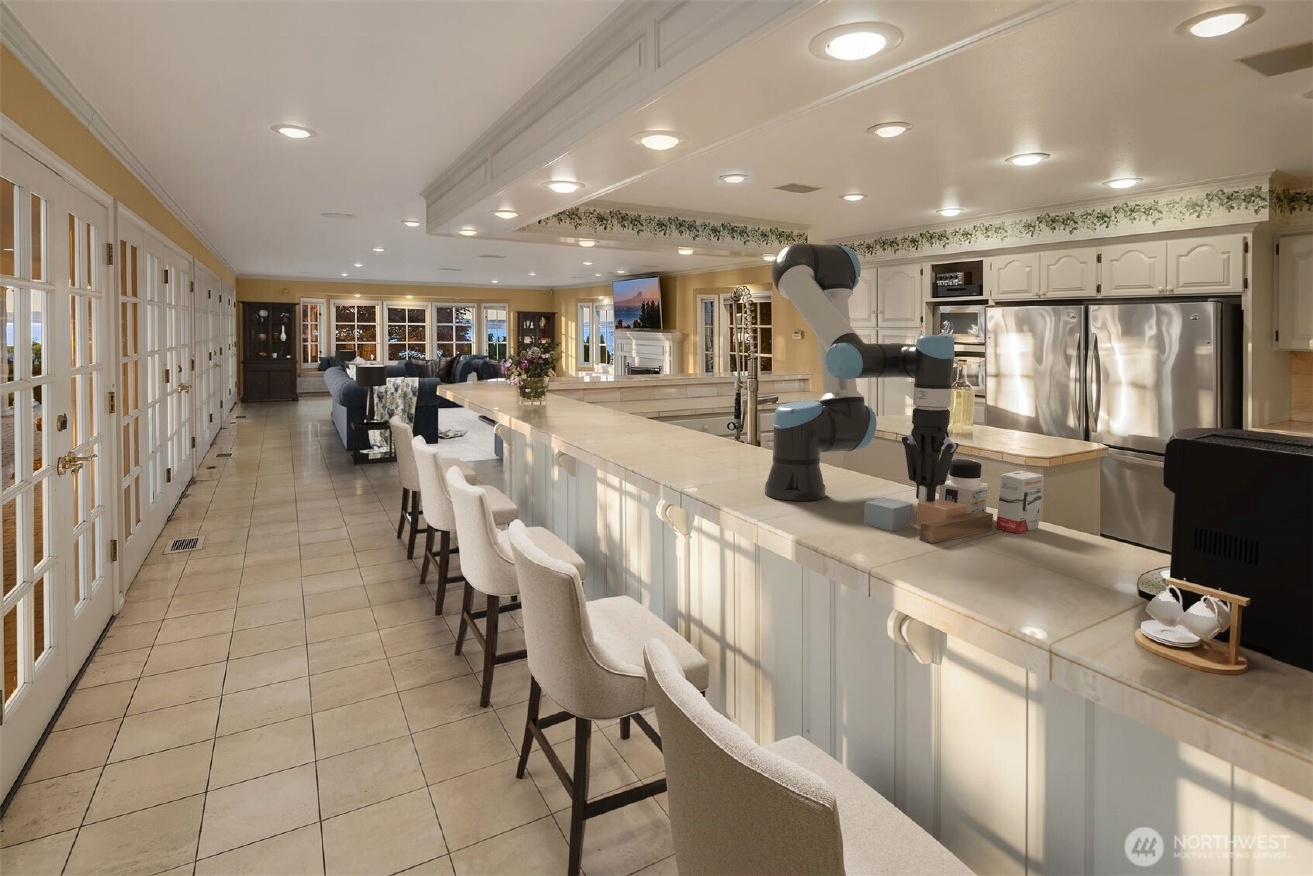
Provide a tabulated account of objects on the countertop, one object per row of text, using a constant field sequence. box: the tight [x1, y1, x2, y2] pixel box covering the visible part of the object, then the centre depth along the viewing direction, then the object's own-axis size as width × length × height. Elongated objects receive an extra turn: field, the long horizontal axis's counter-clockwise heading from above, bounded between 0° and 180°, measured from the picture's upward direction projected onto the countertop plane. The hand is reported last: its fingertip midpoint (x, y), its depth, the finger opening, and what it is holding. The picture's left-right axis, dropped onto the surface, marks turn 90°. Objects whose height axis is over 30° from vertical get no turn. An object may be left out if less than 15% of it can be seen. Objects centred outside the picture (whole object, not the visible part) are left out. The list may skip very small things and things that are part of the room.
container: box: [938, 458, 989, 513], centre depth 158 cm, size 8×8×13 cm
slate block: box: [863, 497, 913, 532], centre depth 152 cm, size 7×7×5 cm
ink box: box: [995, 470, 1045, 534], centre depth 149 cm, size 8×5×12 cm, turn 123°
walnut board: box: [919, 511, 994, 545], centre depth 144 cm, size 3×20×4 cm, turn 122°
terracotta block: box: [915, 498, 967, 527], centre depth 150 cm, size 7×7×5 cm
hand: (924, 514), depth 154 cm, fingers closed
